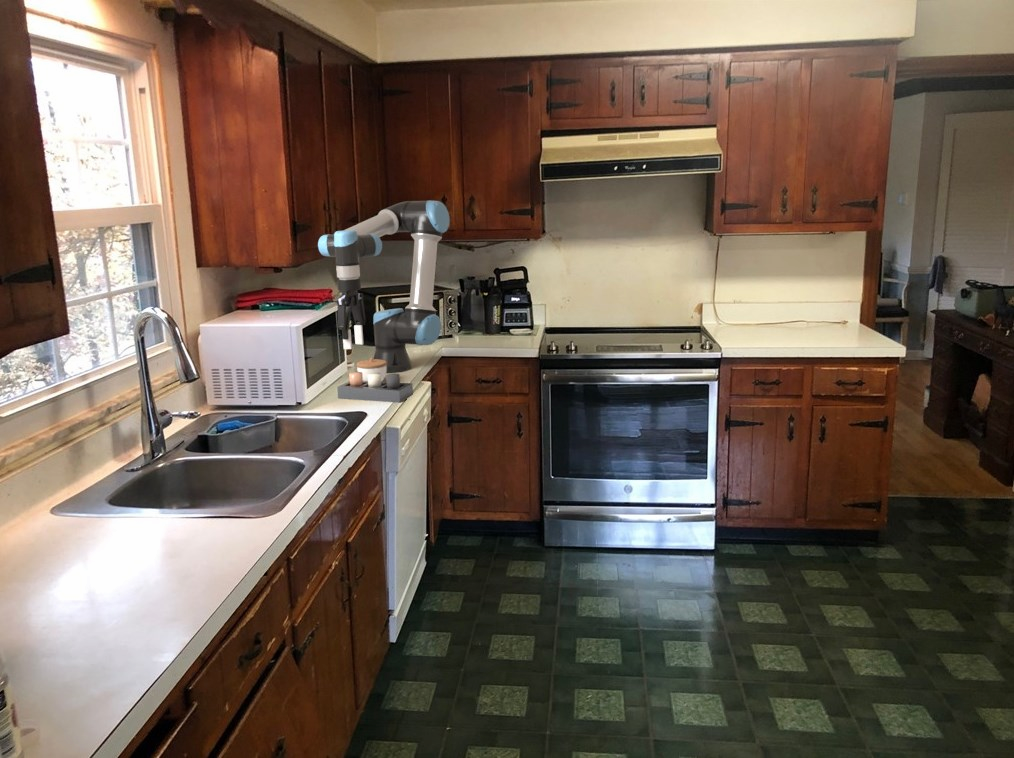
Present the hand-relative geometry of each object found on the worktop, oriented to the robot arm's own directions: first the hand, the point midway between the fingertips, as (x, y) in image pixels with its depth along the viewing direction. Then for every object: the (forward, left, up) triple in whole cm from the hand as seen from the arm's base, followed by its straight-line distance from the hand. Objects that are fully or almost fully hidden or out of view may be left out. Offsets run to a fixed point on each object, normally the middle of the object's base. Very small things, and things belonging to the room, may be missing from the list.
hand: (353, 346), depth 266 cm
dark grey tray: (0, +7, -17) cm, 18 cm away
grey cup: (0, +14, -14) cm, 20 cm away
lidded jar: (-17, -3, -17) cm, 24 cm away
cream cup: (0, +7, -14) cm, 16 cm away
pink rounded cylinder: (0, 0, -14) cm, 14 cm away
